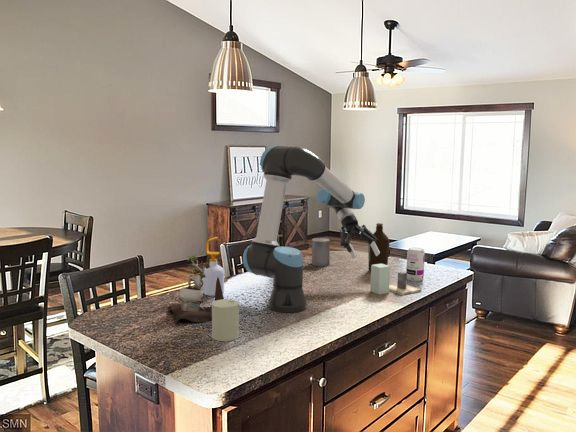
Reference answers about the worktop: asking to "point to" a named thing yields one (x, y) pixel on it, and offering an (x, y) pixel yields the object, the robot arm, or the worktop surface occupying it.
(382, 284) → the tall mint green block
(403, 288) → the post base
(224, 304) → the can
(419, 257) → the supplement can
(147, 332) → the worktop surface
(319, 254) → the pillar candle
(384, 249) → the olive oil
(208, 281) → the soap bottle
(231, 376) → the worktop surface
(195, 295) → the potted plant
